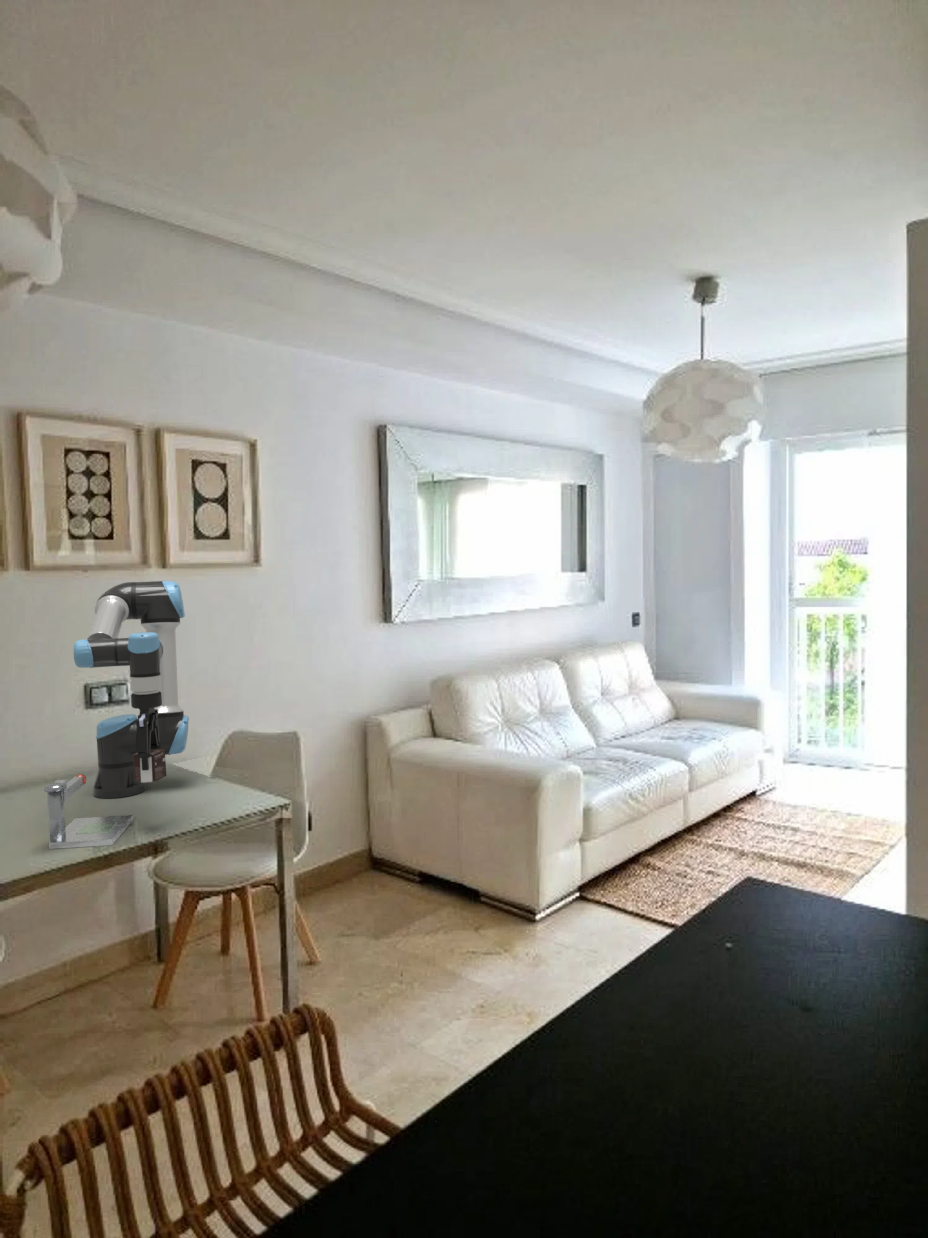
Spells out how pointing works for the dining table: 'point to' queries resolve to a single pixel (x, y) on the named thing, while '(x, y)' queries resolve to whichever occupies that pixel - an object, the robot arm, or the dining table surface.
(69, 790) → the lever
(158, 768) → the box
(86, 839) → the press
